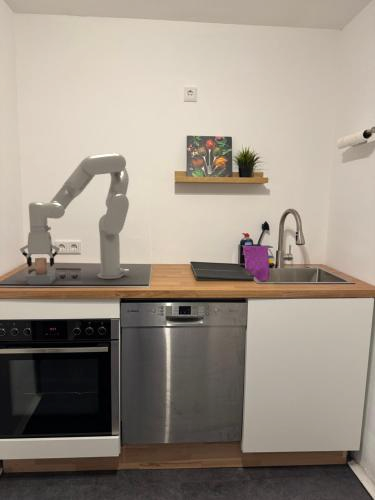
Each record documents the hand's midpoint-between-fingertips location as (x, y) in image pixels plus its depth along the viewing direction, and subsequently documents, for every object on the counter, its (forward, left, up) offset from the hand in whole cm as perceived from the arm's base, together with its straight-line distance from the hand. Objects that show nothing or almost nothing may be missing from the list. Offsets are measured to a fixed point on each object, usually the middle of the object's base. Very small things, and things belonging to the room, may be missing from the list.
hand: (40, 265), depth 164 cm
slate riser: (0, 0, -7) cm, 7 cm away
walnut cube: (+7, -11, -8) cm, 15 cm away
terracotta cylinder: (0, 0, -3) cm, 3 cm away
